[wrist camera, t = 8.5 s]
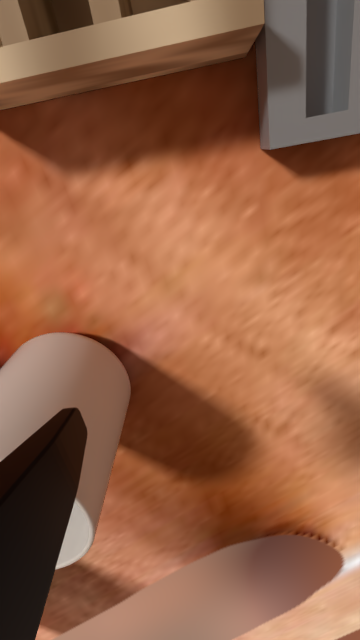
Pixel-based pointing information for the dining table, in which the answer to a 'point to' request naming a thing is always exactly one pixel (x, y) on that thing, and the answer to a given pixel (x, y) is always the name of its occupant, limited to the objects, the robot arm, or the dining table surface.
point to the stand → (308, 71)
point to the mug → (65, 392)
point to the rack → (114, 42)
